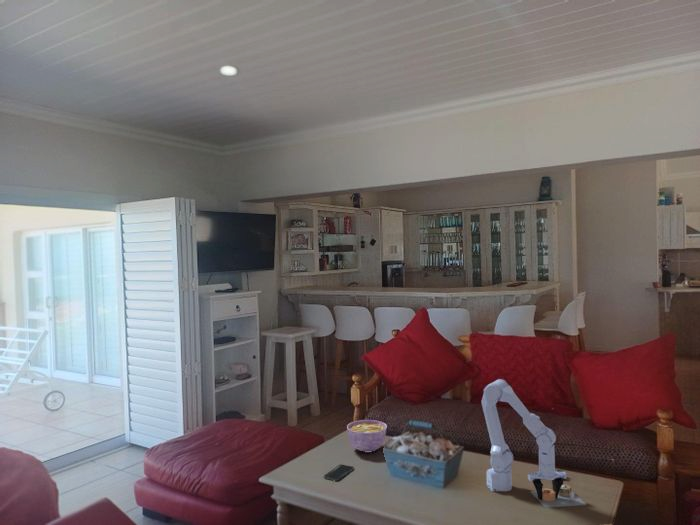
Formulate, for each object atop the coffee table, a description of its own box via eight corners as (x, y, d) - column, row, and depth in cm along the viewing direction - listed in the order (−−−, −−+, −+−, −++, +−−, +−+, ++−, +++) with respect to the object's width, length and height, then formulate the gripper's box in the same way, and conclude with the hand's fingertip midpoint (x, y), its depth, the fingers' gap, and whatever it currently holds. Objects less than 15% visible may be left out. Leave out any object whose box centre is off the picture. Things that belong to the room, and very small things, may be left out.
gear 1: (544, 502, 195) (543, 495, 195) (537, 495, 200) (537, 488, 200) (557, 501, 195) (557, 494, 195) (551, 494, 201) (550, 487, 201)
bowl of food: (395, 447, 258) (394, 424, 258) (372, 460, 243) (371, 436, 242) (363, 439, 271) (362, 417, 271) (339, 451, 255) (338, 428, 255)
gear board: (545, 511, 191) (545, 499, 191) (530, 495, 204) (529, 484, 204) (586, 508, 192) (586, 496, 192) (568, 492, 205) (568, 481, 205)
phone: (322, 476, 225) (340, 464, 238) (322, 479, 225) (340, 466, 238) (338, 480, 221) (355, 467, 234) (338, 482, 221) (355, 469, 234)
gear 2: (560, 497, 198) (560, 487, 198) (553, 490, 204) (553, 481, 204) (573, 496, 199) (573, 486, 199) (566, 489, 204) (566, 480, 204)
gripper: (533, 468, 193) (534, 504, 193) (570, 465, 194) (571, 501, 194) (525, 460, 200) (525, 495, 200) (560, 458, 201) (561, 492, 201)
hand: (547, 497), depth 198 cm, fingers closed on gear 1, 5 cm apart
